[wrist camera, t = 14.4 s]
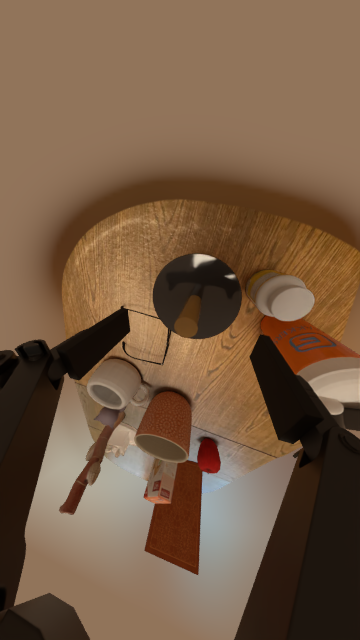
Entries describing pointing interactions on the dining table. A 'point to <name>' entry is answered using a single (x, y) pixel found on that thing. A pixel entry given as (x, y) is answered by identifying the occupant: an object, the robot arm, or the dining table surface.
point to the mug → (116, 384)
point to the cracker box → (161, 482)
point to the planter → (166, 428)
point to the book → (179, 520)
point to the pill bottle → (279, 295)
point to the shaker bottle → (320, 366)
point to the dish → (121, 439)
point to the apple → (208, 456)
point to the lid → (197, 296)
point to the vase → (89, 468)
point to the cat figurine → (109, 416)
